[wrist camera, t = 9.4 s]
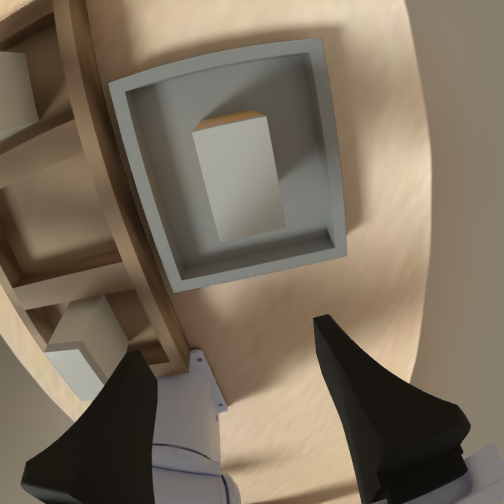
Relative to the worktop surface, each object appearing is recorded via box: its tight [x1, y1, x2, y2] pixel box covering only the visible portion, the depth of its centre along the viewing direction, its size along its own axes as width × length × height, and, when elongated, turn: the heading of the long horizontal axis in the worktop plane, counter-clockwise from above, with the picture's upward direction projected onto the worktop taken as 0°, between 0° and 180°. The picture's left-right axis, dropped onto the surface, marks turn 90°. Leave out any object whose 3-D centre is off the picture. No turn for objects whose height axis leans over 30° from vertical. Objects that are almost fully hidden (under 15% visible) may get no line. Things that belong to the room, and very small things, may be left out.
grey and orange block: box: [192, 109, 286, 242], centre depth 16 cm, size 5×3×6 cm, turn 11°
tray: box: [108, 38, 347, 293], centre depth 18 cm, size 14×12×2 cm
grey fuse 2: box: [44, 295, 129, 401], centre depth 20 cm, size 5×3×6 cm, turn 11°
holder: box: [0, 0, 191, 377], centre depth 18 cm, size 28×12×3 cm, turn 11°
